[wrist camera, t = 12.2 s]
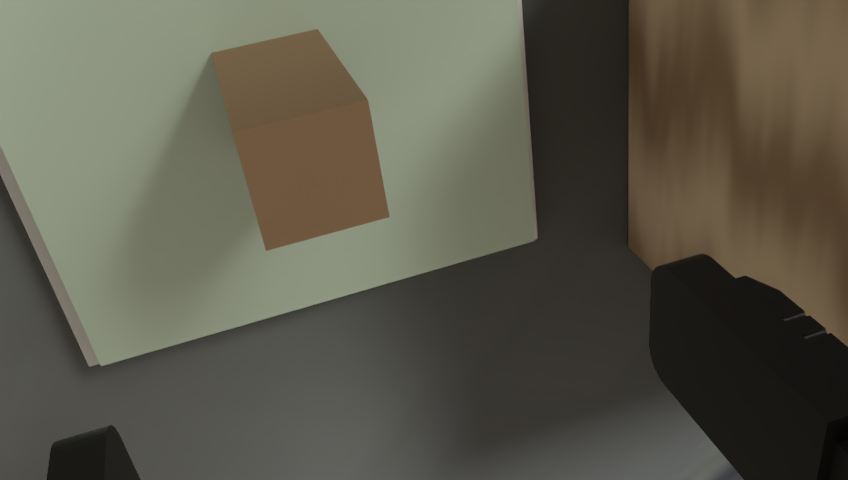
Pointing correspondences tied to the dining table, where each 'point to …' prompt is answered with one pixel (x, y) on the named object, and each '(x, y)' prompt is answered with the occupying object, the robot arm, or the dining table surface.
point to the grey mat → (3, 169)
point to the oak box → (743, 143)
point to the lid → (259, 151)
